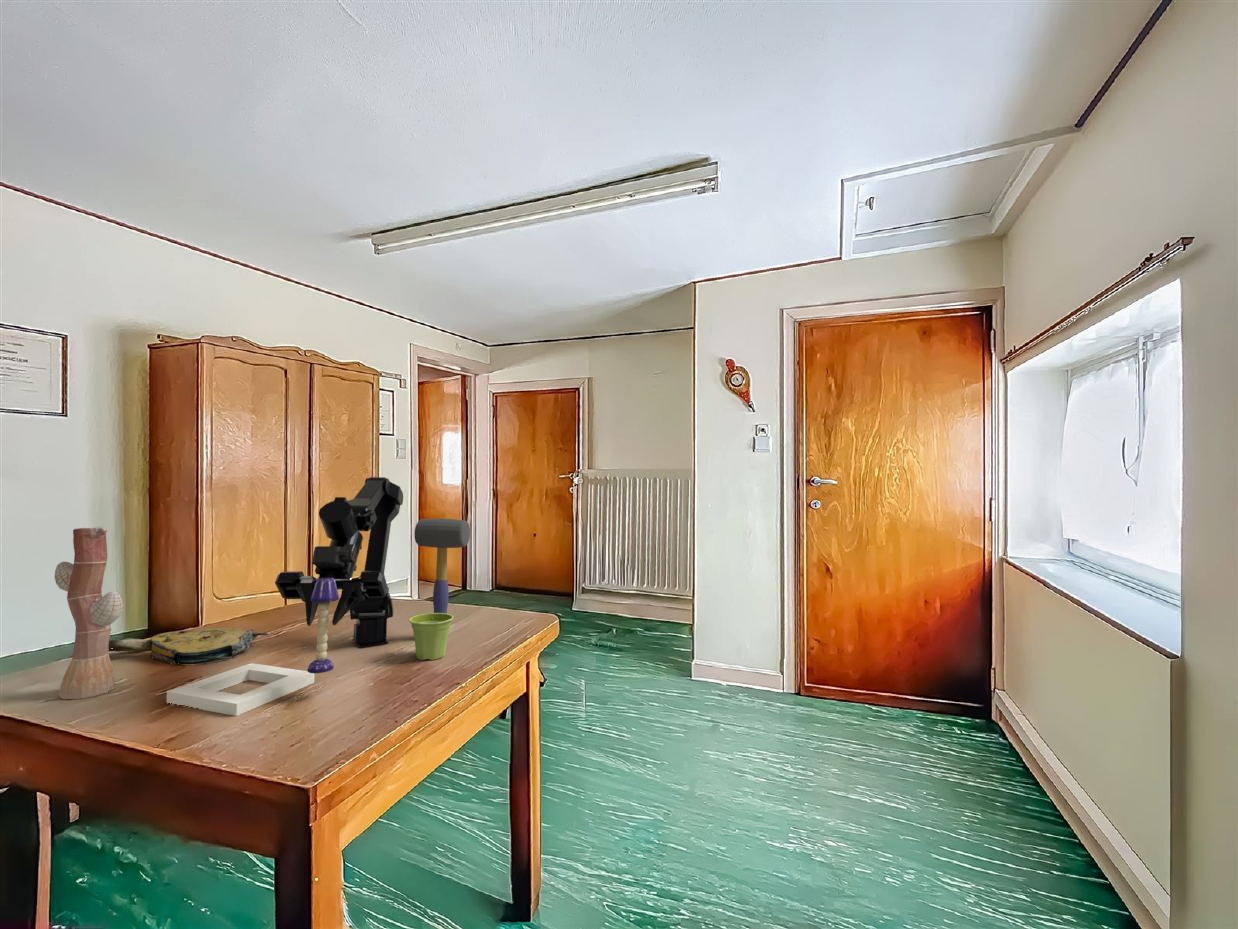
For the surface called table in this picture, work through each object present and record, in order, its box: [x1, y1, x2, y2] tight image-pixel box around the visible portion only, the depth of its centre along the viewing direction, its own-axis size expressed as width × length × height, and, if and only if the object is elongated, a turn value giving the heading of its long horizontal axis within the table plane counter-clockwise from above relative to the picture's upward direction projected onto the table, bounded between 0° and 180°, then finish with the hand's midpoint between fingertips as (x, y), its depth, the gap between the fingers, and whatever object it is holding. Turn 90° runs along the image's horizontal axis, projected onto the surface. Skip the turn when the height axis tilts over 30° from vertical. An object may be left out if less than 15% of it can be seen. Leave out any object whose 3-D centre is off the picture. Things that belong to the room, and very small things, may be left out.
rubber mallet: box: [414, 518, 471, 614], centre depth 140 cm, size 12×8×30 cm, turn 85°
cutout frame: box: [166, 662, 315, 717], centre depth 102 cm, size 16×16×2 cm
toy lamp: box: [306, 577, 340, 674], centre depth 102 cm, size 5×5×17 cm
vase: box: [53, 526, 124, 700], centre depth 101 cm, size 10×7×30 cm
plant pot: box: [408, 612, 454, 661], centre depth 125 cm, size 9×9×9 cm
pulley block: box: [108, 627, 269, 665], centre depth 122 cm, size 14×6×30 cm
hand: (321, 624), depth 101 cm, fingers closed on toy lamp, 4 cm apart
